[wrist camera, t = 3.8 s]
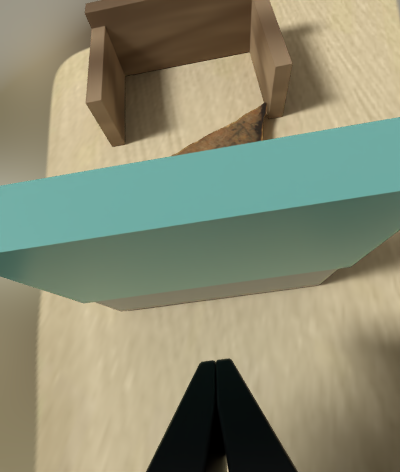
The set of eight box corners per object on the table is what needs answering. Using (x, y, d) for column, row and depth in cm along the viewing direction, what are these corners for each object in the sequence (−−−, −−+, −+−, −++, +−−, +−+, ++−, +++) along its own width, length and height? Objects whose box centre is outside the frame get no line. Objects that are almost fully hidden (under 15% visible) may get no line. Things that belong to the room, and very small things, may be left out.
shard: (264, 117, 21) (266, 97, 19) (335, 188, 18) (345, 171, 16) (138, 189, 20) (130, 174, 18) (192, 277, 17) (188, 269, 15)
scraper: (328, 283, 15) (464, 181, 6) (112, 312, 16) (-51, 259, 7) (317, 249, 16) (423, 113, 7) (113, 278, 16) (-32, 191, 8)
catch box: (282, 116, 20) (295, 46, 15) (112, 146, 21) (77, 89, 16) (259, 40, 24) (264, -35, 19) (114, 69, 24) (85, 3, 20)
